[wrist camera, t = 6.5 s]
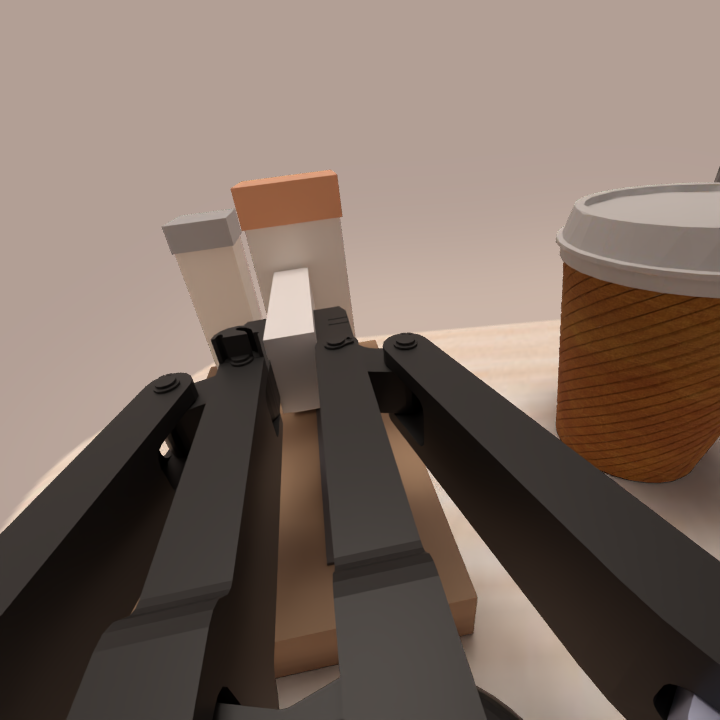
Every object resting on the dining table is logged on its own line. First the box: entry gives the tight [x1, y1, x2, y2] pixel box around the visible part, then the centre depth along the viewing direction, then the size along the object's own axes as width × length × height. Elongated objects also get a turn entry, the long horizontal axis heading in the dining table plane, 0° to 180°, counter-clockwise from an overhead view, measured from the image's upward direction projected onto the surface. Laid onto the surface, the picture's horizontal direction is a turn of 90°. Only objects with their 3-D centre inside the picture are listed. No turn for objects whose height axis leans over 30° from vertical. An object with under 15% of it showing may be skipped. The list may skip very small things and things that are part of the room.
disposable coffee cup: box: [556, 183, 720, 483], centre depth 17 cm, size 10×10×12 cm
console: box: [132, 340, 477, 678], centre depth 19 cm, size 18×12×4 cm, turn 8°
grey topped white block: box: [162, 209, 263, 369], centre depth 22 cm, size 3×3×10 cm
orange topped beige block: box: [231, 170, 355, 413], centre depth 19 cm, size 3×4×11 cm
